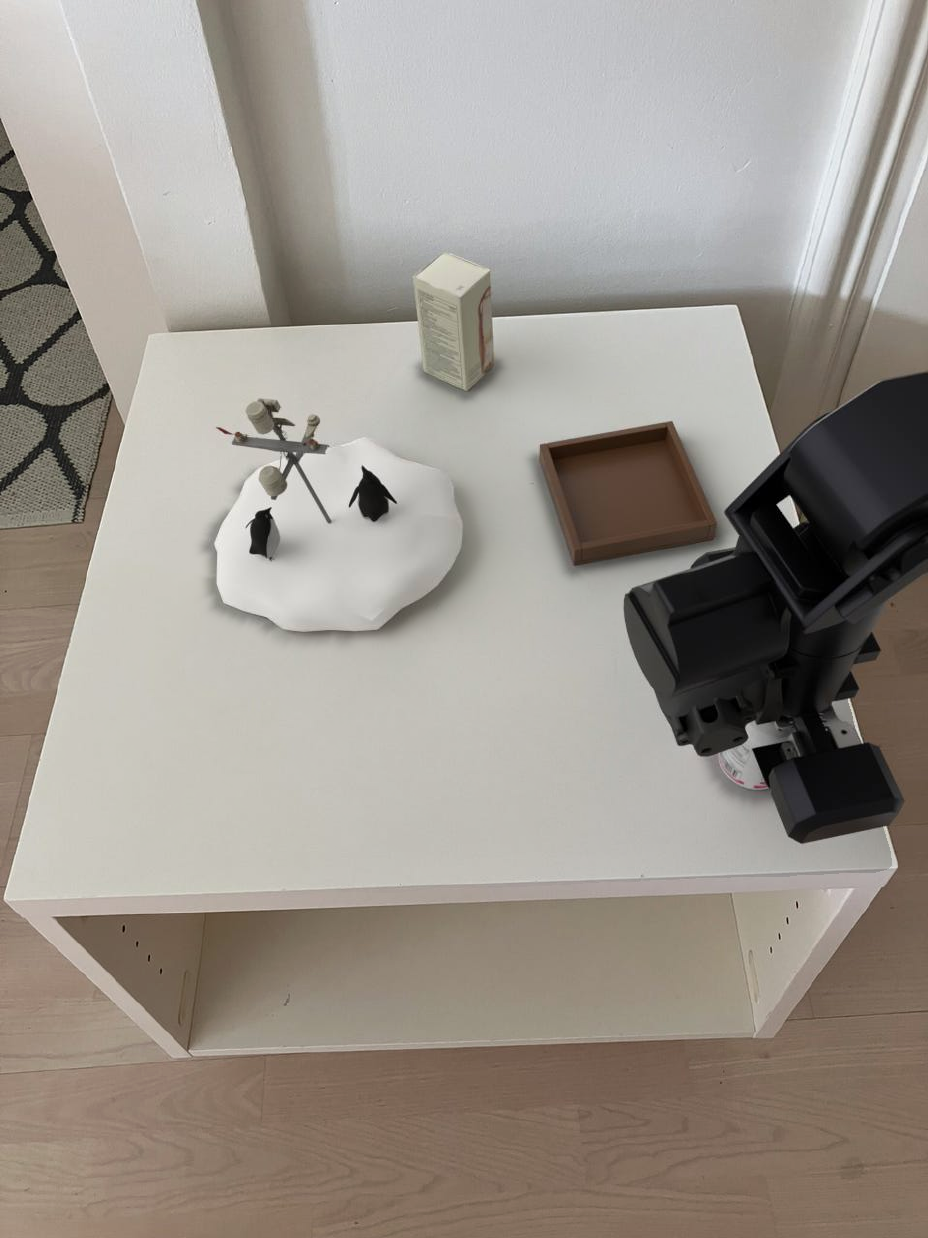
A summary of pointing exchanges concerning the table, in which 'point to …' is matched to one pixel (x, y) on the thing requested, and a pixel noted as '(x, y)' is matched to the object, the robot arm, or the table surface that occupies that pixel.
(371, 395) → the table surface
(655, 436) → the tray
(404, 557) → the figurine
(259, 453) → the table surface
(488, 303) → the medicine box
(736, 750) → the pill bottle
